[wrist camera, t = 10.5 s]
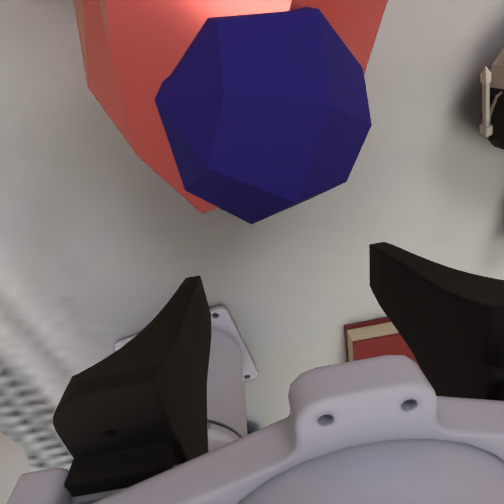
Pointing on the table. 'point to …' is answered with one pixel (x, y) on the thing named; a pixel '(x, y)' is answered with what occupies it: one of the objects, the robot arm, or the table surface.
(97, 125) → the table surface
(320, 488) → the robot arm
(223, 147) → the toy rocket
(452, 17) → the table surface
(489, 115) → the robot toy
